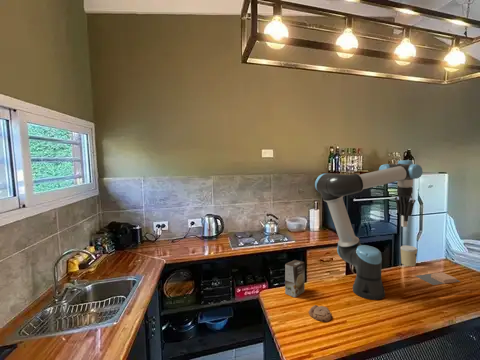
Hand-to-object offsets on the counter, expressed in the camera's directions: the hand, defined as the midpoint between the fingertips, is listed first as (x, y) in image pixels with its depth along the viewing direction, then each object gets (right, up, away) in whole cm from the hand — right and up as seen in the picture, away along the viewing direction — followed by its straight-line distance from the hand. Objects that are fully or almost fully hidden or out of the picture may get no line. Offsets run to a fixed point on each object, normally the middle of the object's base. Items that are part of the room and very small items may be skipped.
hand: (404, 226), depth 158 cm
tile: (+16, -27, -4) cm, 32 cm away
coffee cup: (+12, -28, +15) cm, 35 cm away
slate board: (+15, -30, -6) cm, 34 cm away
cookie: (-61, -34, -38) cm, 79 cm away
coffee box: (-68, -32, -17) cm, 77 cm away
